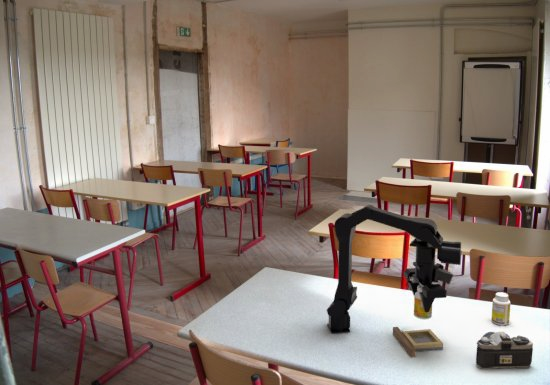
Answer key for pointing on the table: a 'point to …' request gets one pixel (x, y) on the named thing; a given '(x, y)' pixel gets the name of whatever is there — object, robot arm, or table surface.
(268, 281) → the table surface
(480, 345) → the camera
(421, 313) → the supplement bottle
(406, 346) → the door edge rail
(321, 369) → the table surface
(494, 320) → the supplement bottle
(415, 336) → the plate
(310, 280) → the table surface
